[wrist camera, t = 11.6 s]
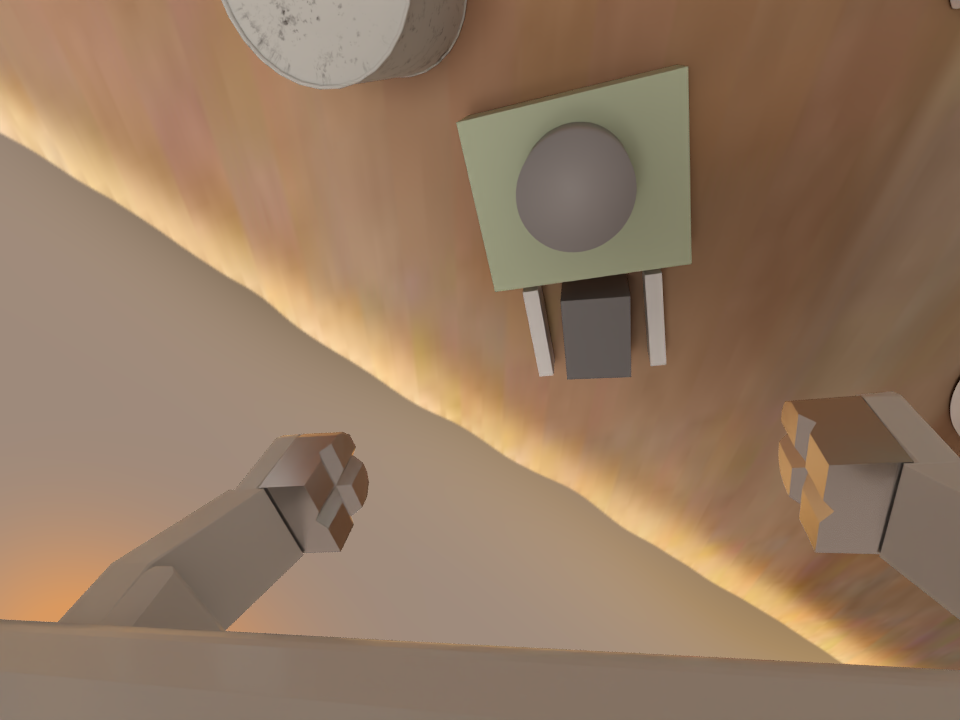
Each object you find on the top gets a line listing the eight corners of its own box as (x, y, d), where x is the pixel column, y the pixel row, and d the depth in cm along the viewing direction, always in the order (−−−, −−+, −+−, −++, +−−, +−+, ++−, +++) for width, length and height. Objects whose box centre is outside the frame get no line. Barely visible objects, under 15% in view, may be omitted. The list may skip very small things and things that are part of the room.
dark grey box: (625, 272, 40) (630, 296, 36) (626, 348, 43) (631, 376, 39) (562, 278, 41) (560, 301, 37) (568, 351, 44) (567, 379, 40)
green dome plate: (677, 64, 32) (701, 68, 25) (684, 346, 42) (703, 403, 35) (468, 115, 35) (441, 131, 29) (522, 363, 45) (511, 417, 39)
